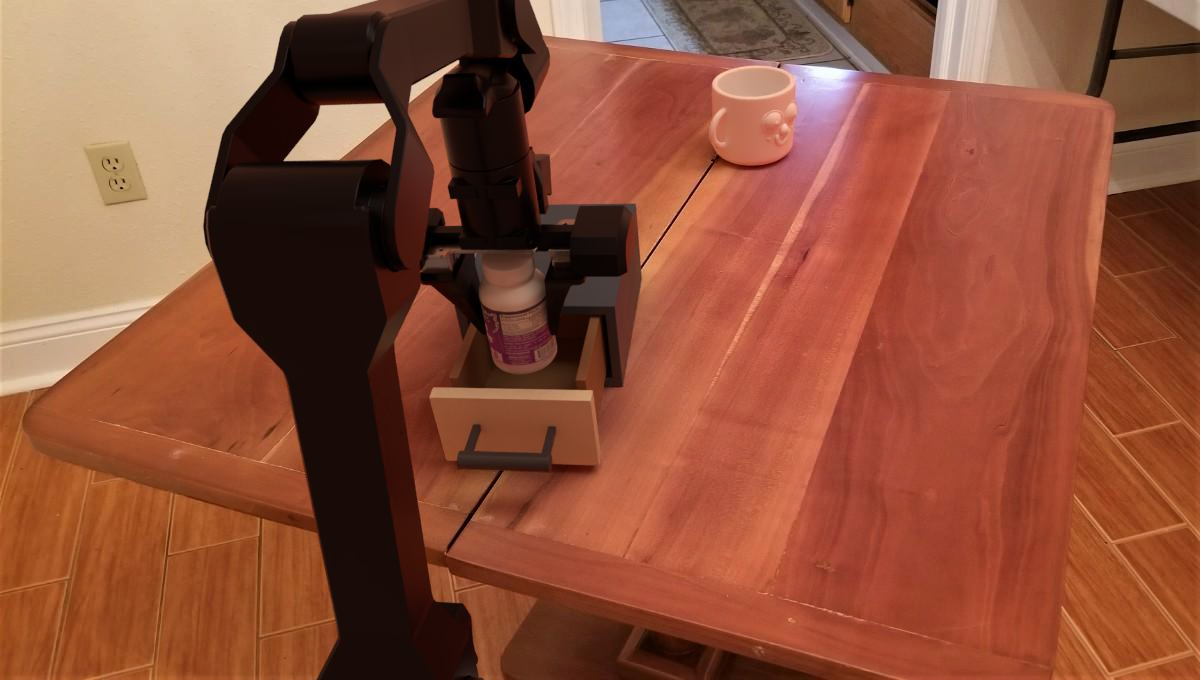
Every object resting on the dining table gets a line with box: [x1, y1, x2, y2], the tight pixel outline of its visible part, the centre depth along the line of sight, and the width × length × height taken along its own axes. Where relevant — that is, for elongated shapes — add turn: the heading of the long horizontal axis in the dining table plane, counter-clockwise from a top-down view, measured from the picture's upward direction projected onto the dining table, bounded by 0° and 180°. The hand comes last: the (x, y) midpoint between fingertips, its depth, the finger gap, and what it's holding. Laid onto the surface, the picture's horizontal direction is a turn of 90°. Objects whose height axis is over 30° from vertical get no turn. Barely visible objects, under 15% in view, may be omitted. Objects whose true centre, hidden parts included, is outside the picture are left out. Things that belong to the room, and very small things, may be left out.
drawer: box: [428, 314, 610, 473], centre depth 77 cm, size 20×13×7 cm, turn 172°
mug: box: [708, 65, 799, 166], centre depth 111 cm, size 12×10×9 cm
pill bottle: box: [479, 253, 557, 375], centre depth 73 cm, size 5×5×10 cm
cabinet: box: [454, 203, 643, 387], centre depth 88 cm, size 17×14×9 cm
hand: (521, 332), depth 74 cm, fingers closed on pill bottle, 5 cm apart
